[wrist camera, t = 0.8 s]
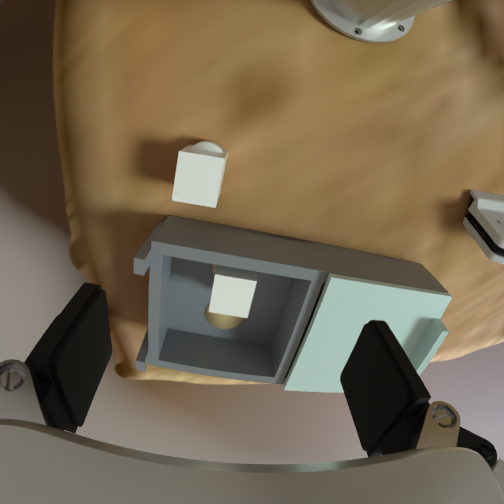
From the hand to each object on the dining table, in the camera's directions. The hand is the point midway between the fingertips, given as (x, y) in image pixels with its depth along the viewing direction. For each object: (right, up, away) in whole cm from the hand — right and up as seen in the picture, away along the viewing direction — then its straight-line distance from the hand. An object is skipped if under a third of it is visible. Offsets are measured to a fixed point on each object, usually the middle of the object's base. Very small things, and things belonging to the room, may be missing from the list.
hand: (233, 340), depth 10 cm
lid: (+14, -8, +22) cm, 27 cm away
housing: (+5, -3, +28) cm, 28 cm away
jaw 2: (-1, +1, +24) cm, 24 cm away
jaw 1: (-4, +12, +20) cm, 24 cm away
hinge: (+38, +8, +24) cm, 45 cm away
